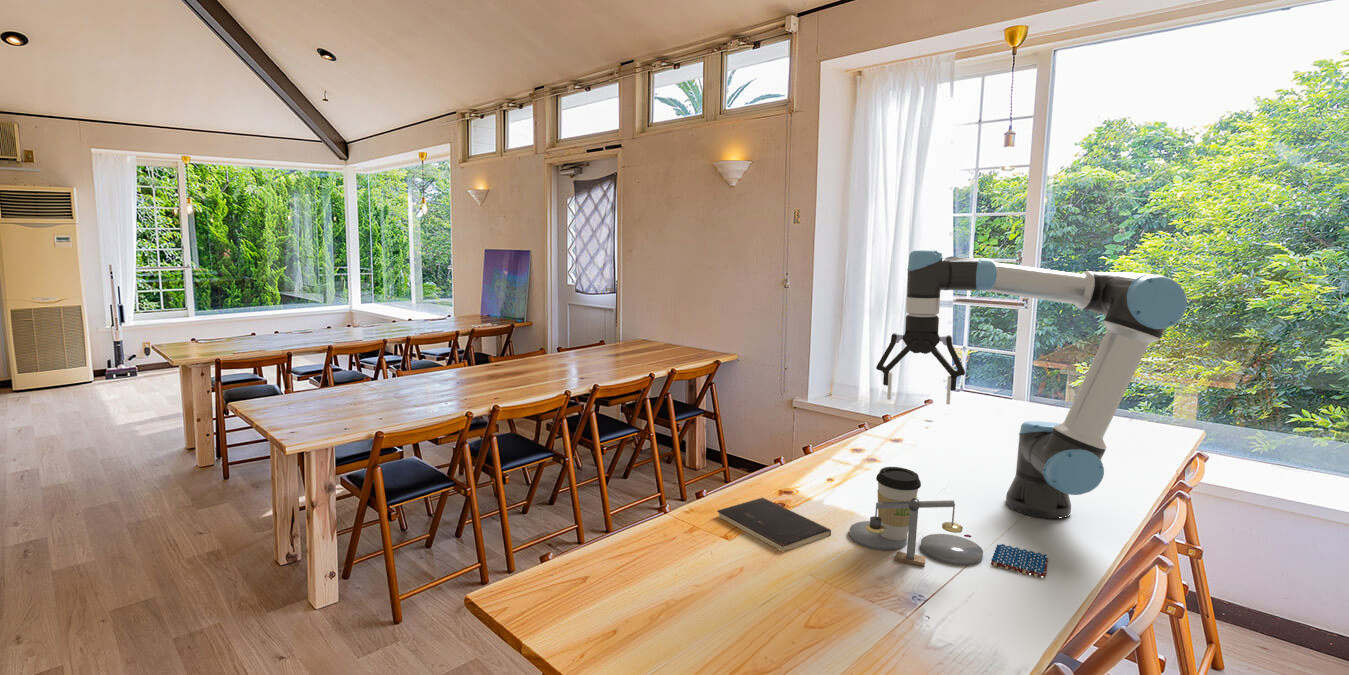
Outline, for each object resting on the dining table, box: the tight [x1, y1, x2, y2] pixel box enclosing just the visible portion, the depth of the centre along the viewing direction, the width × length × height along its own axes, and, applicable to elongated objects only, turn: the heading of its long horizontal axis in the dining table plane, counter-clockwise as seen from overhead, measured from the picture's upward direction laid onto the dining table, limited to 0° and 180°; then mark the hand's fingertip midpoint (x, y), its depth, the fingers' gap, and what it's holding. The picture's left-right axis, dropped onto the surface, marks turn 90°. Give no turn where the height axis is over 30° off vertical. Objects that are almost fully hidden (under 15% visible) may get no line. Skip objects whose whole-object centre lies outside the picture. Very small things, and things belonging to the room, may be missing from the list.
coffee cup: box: [876, 466, 922, 541], centre depth 156 cm, size 10×10×15 cm
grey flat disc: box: [920, 533, 984, 566], centre depth 152 cm, size 13×13×1 cm
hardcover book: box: [716, 497, 832, 552], centre depth 163 cm, size 16×23×2 cm
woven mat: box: [990, 543, 1049, 577], centre depth 147 cm, size 10×11×2 cm
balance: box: [866, 498, 964, 568], centre depth 146 cm, size 20×4×15 cm, turn 66°
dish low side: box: [849, 520, 908, 551], centre depth 158 cm, size 13×13×1 cm
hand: (918, 400), depth 165 cm, fingers open, 13 cm apart
